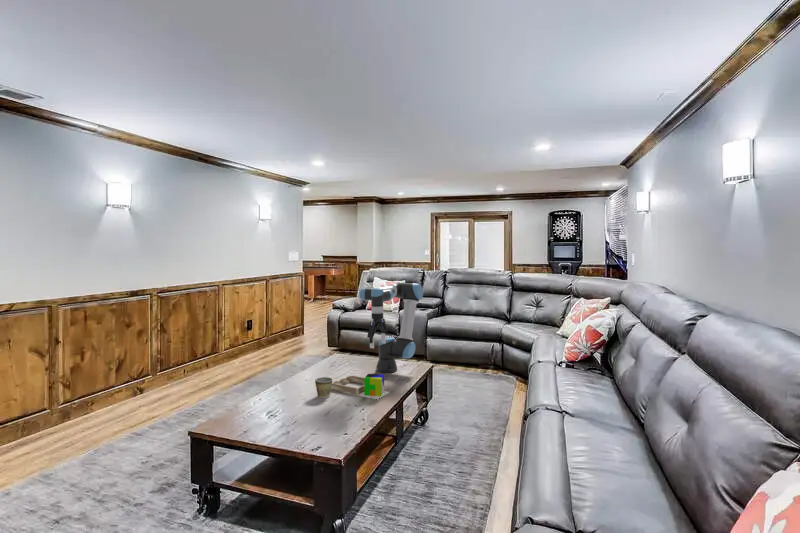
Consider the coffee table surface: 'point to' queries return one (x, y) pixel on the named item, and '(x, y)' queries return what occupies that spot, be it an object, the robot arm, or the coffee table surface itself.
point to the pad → (374, 396)
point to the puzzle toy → (374, 384)
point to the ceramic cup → (323, 387)
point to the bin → (341, 387)
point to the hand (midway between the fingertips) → (377, 345)
